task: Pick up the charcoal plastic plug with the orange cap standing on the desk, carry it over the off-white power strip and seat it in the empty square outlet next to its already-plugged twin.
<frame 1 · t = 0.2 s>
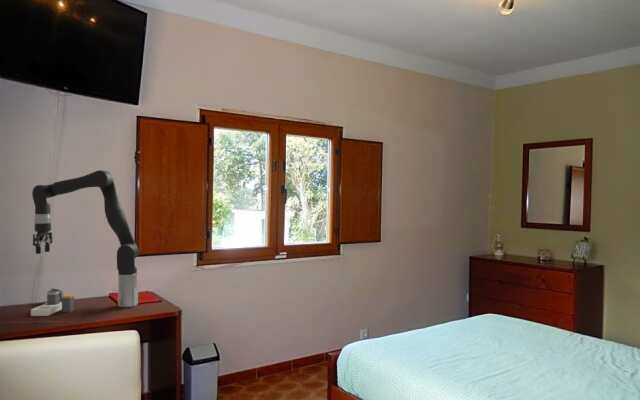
hand: (42, 252, 240), 29 cm above the table, fingers open, 8 cm apart
twin plug: (53, 309, 230), resting on power strip
plug: (67, 313, 227), on the table
electrical switch: (57, 305, 243), on the table
power strip: (48, 313, 225), on the table
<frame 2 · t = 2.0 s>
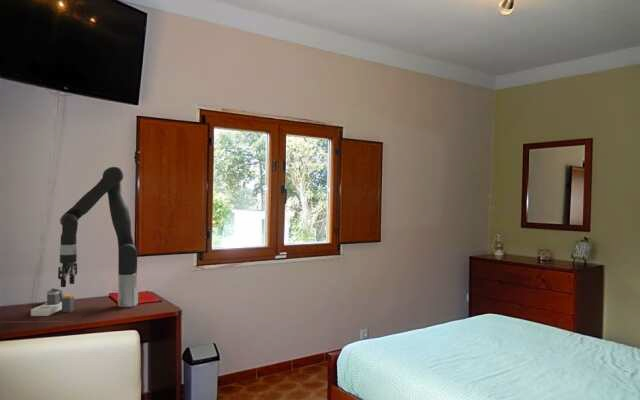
hand: (67, 285, 227), 14 cm above the table, fingers open, 8 cm apart
nothing on the table moved.
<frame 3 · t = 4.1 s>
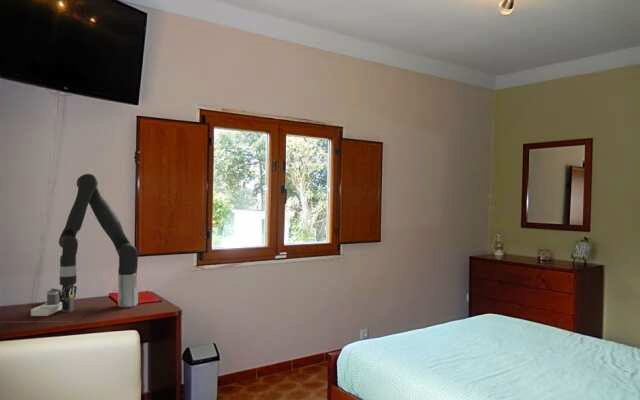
hand: (67, 308, 227), 2 cm above the table, fingers closed on plug, 4 cm apart
plug: (67, 312, 227), on the table, touching gripper
everything else where it was.
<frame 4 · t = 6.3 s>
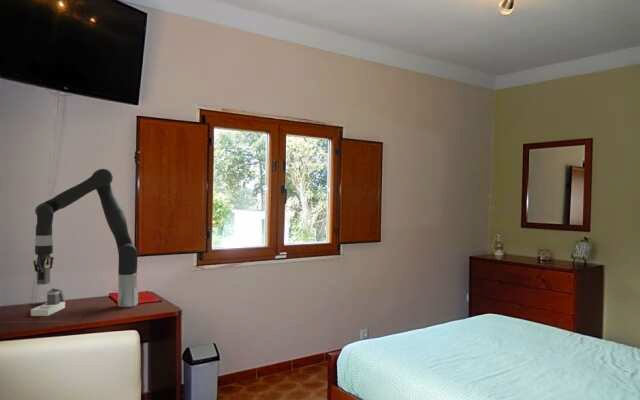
hand: (43, 279, 221), 18 cm above the table, fingers closed on plug, 4 cm apart
plug: (43, 283, 221), point 16 cm above the table, touching gripper
everything else where it was.
when the fingers open (5 cm above the table, at t = 8.7 s): plug drops 1 cm, resting on power strip.
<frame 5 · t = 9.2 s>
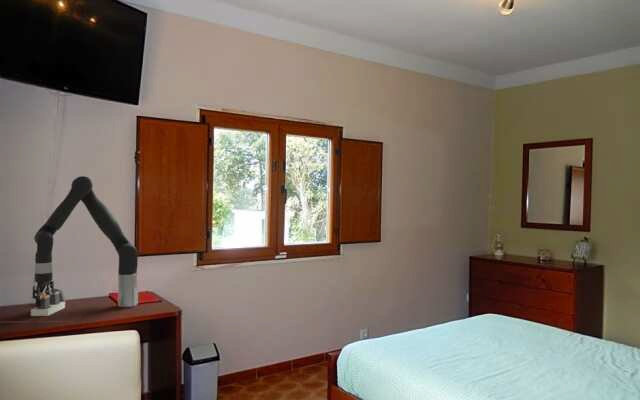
hand: (43, 304, 221), 6 cm above the table, fingers open, 8 cm apart
plug: (43, 313, 221), point 1 cm above the table, touching power strip
everything else where it was.
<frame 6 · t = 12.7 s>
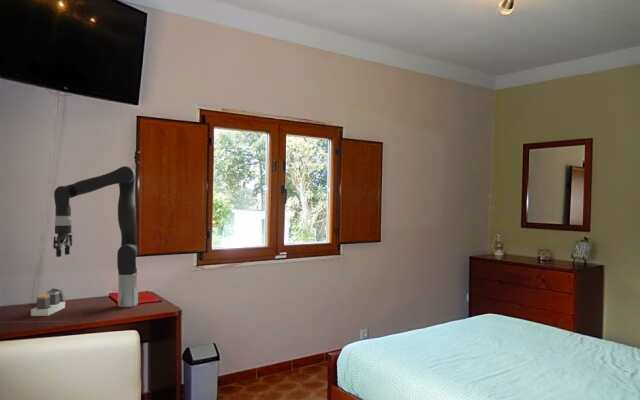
hand: (63, 255, 233), 28 cm above the table, fingers open, 8 cm apart
nothing on the table moved.
at the end: plug 0.1 cm from the target spot on the power strip, point 1.0 cm above the power strip's base; plug tilted 0°; the gripper is holding nothing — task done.
